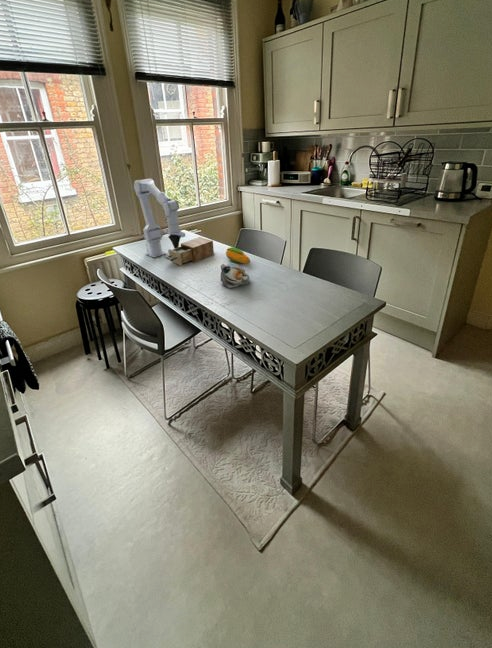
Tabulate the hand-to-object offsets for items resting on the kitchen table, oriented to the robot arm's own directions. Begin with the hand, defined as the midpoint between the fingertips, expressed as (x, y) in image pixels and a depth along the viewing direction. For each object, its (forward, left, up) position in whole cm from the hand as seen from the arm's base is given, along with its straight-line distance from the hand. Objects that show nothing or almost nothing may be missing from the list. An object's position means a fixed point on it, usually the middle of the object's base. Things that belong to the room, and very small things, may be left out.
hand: (176, 247), depth 172 cm
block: (0, +3, -7) cm, 8 cm away
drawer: (0, +3, -8) cm, 9 cm away
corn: (+25, +22, -10) cm, 35 cm away
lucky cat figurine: (+43, +1, -10) cm, 45 cm away
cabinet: (0, +14, -9) cm, 17 cm away
